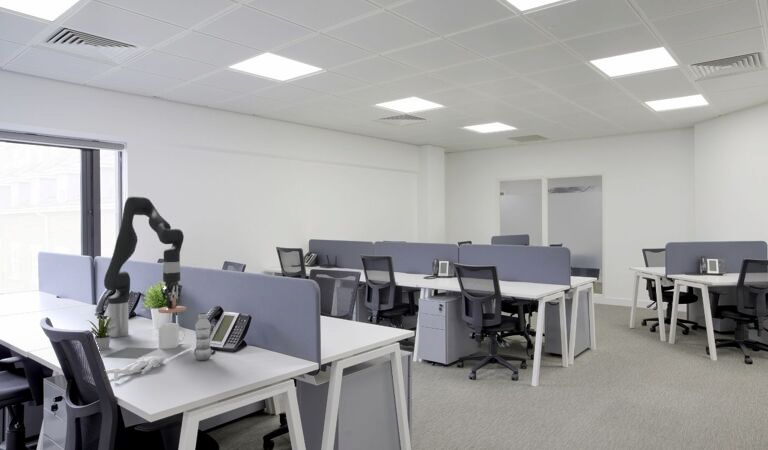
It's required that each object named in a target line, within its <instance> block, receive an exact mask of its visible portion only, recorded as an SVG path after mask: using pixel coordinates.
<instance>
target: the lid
mask: <svg viewBox="0 0 768 450" xmlns="http://www.w3.org/2000/svg"><path fill="white" fill-rule="evenodd" d="M185 311H187V307H186V306H183V305H177V307H176V297H172V308H171V309H168V308H167V306H163V307H158V309H157V312H158V313H159V314H176V313H182V312H185Z"/></svg>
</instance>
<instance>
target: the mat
mask: <svg viewBox="0 0 768 450" xmlns="http://www.w3.org/2000/svg"><path fill="white" fill-rule="evenodd" d="M157 350H159V347H158V348H155V347H153V348H152V347H150V348H149V347H135V346H134V347H130V346H128V347H124V348H122V349H121V348H120V349H119V350H116V351H115V352H112V353H111V352H110V353H109V354H106V355H104V356H103V358H110V359H111V358H115V359H117V358H118V359H132V360H133V359H136V360H138V359H139V358H142V356H146V355H147V354H150V353H152V352H154V351H157Z"/></svg>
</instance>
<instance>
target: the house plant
mask: <svg viewBox="0 0 768 450" xmlns="http://www.w3.org/2000/svg"><path fill="white" fill-rule="evenodd" d="M101 317H102V318H101ZM112 317H113V316H112ZM112 317H110V318H109V319H108V321H107V322H106V320H105V317H104V316H103V315H101V316H100V315H98V327H97V326H96V324H94V323H93V322H92V321H90V320H88V319H86V321H87V322H89V323H90V324H91V325H92V326H93V327H94V328H93V327H91V330H90V331H91V332H90V333H92V334H94V337H95V340H96V342H97V345H98V347H99V350H98V351H102V350H107V349H109V347H110V343H111V338H112V337H111V335H106V333H107V334H108V332H107V331H110V330H109V329H111V328H109V327H110V326H109V327H108V325H109V324H110V323H111V321H112V320H111V318H112ZM116 318H118V317H116ZM114 319H115V318H114ZM114 319H113V320H114ZM109 322H110V323H109ZM114 322H115V321H114ZM112 323H113V322H112ZM112 323H111V324H112ZM107 327H108V328H109V329H108V328H107ZM116 327H117V326H116ZM112 328H113V327H112ZM114 328H115V327H114ZM114 328H113V329H114ZM116 329H117V328H116Z"/></svg>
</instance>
